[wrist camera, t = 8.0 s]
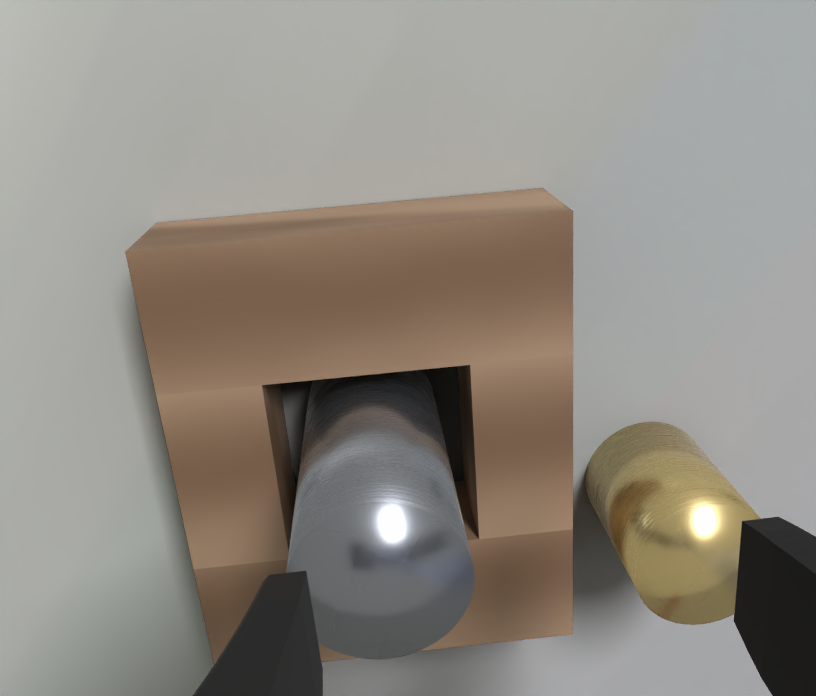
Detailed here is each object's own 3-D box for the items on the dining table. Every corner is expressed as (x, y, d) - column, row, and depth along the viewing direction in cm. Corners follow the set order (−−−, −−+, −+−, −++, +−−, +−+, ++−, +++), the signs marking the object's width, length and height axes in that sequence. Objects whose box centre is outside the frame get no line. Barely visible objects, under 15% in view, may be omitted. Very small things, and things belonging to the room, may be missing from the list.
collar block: (547, 567, 25) (572, 634, 22) (231, 601, 24) (215, 673, 22) (542, 187, 20) (573, 211, 18) (156, 222, 20) (125, 251, 17)
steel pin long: (433, 458, 23) (471, 654, 16) (311, 461, 23) (290, 663, 15) (435, 344, 22) (477, 499, 14) (305, 346, 22) (279, 506, 14)
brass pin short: (697, 519, 25) (769, 616, 20) (585, 530, 24) (633, 631, 20) (705, 416, 23) (783, 498, 19) (585, 428, 23) (637, 513, 19)
